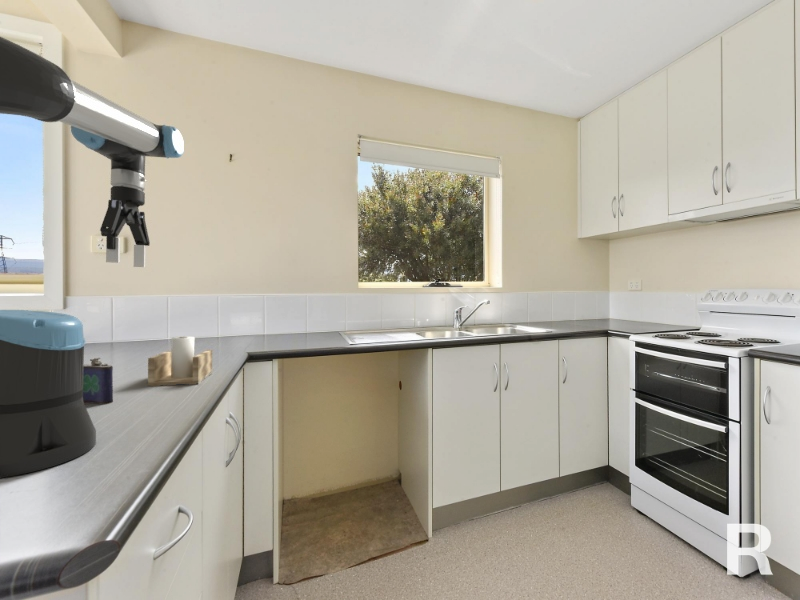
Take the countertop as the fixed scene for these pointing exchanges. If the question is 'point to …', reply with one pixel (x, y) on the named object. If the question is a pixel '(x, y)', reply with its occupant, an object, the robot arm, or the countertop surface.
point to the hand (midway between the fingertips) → (127, 265)
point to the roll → (182, 357)
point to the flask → (97, 382)
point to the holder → (162, 369)
